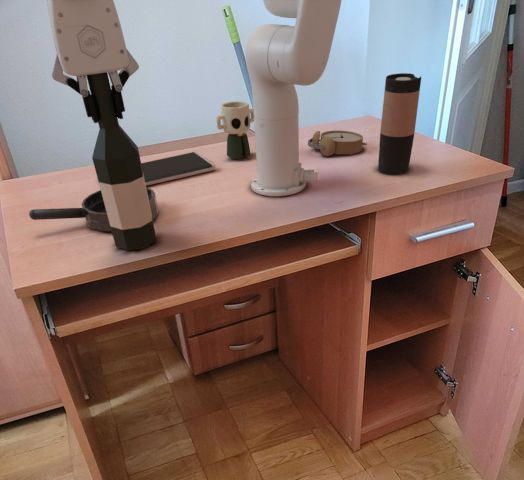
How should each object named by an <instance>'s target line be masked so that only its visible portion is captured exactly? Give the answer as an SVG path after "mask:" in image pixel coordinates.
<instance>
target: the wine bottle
mask: <svg viewBox="0 0 524 480" xmlns="http://www.w3.org/2000/svg"><path fill="white" fill-rule="evenodd" d="M86 78H87V85H88V89H89V91H90V94H91V96H92V97H93V100H94V104H95V108H96V112H97V116H98V120H99V122H98V123H97V124H98V128H99V130H98V133H97V137H96V141H95V144H94V148H93V153H92V157H91V158H92V162H93V167H94V170H95V174H96V178H97V181H98V185H99V189H100V190H101V193H102V197H103V200H104V204H105V208H106V212H107V215H108V219H109V223H110V227H111V230H112V232H111V233H112V237H113V241H114V244H115V247H116V248H119V249H122V250H126V251H132V250H139V249H145V248H147V247H149V246H151V245H152V244H154V243H155V242H157V232H156V228H155V223H154V219H153V218H152V213H151V208H150V203H149V198H148V194H147V189H146V187H147V186H146V184H145V179H144V174H143V170H142V165H141V163H142V159H141V156H140V155H141V154H140V151H139V146H138V145H137V144H136V143H135V142H134V140H132V138H131V137H130V136H129V135H128V133H127V132H126V131H125V130H124V129H123V127H122V126H121V125H120V123H119V118H118V117H117V114H116V109H115V105H114V101H113V96H112V91H111V89H112V88H111V81H110V78H109V75H108V72H105V73H98V74H90V75H86Z"/></svg>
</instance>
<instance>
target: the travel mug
mask: <svg viewBox="0 0 524 480" xmlns="http://www.w3.org/2000/svg"><path fill="white" fill-rule="evenodd" d="M421 83H422V76H421V75H420V76H419V77H417V76H415V74H414V73H411V72H410V73H407V72H403V73H393V74H388V75H386V77H385V83H384V92H383V101H382V102H383V103H382V112H381V120H380V121H381V123H380V131H379V132H380V133H379V147H378V162H377V164H378V166H377V170H378V172H379V173H381V174H384V175H388V176H398V175H404V174H406V173H408V171H409V168H410V161H411V157H412V152H413V151H412V150H413V144H414V138H415V132H416V124H417V117H418V109H419V102H420V101H419V99H420V92H421Z"/></svg>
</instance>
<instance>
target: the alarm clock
mask: <svg viewBox="0 0 524 480" xmlns="http://www.w3.org/2000/svg"><path fill="white" fill-rule="evenodd" d="M363 140H364V136H363V135H362V134H360V133H358V132H354V131H349V130H327V131H323V132H322V133H321V130H317V131H315V132H314V133H313V135H312V137H311V138H310V139H308V140H307V146H308V147H310V148H312V149H314V150H317V151H320V153H321V154H322V155H323V156H324V157H330V156H332V155H334V154H337V155H353V154H357V153H360V152H361V151H362V150H363V149H362V148H363V146H367V145H368V144H367V143H366V142H364V141H363Z"/></svg>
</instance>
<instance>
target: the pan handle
mask: <svg viewBox="0 0 524 480" xmlns="http://www.w3.org/2000/svg"><path fill="white" fill-rule="evenodd" d="M28 216H29V218H30V219H31V220H34V221H40V220H41V221H42V220H65V219H84V218H85V214H84V211H83V208H82V207H65V208H37V209H31V210H30V211H29V212H28Z"/></svg>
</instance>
